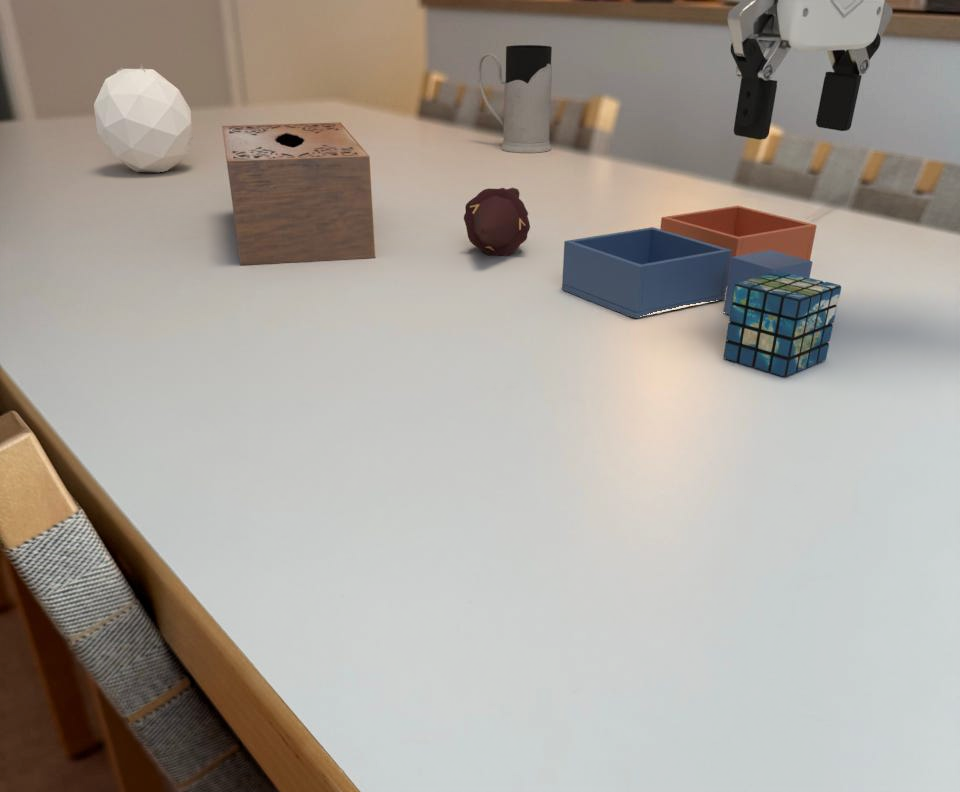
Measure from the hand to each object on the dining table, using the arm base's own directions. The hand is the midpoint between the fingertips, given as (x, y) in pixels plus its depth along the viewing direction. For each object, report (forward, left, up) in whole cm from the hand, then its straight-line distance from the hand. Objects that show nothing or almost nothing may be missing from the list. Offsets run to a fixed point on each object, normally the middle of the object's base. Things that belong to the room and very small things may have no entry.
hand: (792, 132), depth 78 cm
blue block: (-1, -1, -15) cm, 15 cm away
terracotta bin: (-11, -15, -15) cm, 24 cm away
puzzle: (+7, +8, -15) cm, 19 cm away
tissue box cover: (+22, -53, -15) cm, 59 cm away
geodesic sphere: (+24, -103, -15) cm, 107 cm away
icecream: (+7, -33, -16) cm, 37 cm away
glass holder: (-36, -93, -15) cm, 101 cm away
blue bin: (+4, -12, -15) cm, 20 cm away
